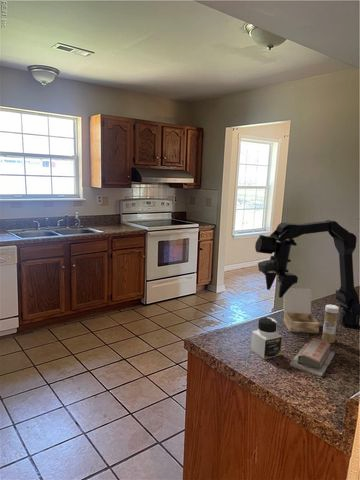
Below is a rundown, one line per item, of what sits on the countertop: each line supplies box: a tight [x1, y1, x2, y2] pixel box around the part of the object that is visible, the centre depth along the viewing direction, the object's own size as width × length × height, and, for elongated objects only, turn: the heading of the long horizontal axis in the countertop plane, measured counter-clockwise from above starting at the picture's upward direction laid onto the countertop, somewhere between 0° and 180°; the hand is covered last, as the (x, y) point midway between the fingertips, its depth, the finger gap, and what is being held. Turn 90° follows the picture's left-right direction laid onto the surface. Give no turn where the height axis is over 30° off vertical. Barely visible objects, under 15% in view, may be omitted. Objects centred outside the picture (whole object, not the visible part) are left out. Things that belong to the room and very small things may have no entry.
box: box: [283, 312, 320, 334], centre depth 139 cm, size 11×10×4 cm
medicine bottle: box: [250, 316, 283, 360], centre depth 116 cm, size 7×7×12 cm
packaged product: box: [289, 337, 336, 377], centre depth 113 cm, size 18×5×10 cm
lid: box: [283, 287, 312, 315], centre depth 145 cm, size 11×10×1 cm
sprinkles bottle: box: [321, 304, 340, 344], centre depth 127 cm, size 5×5×13 cm
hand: (274, 293), depth 136 cm, fingers open, 9 cm apart
